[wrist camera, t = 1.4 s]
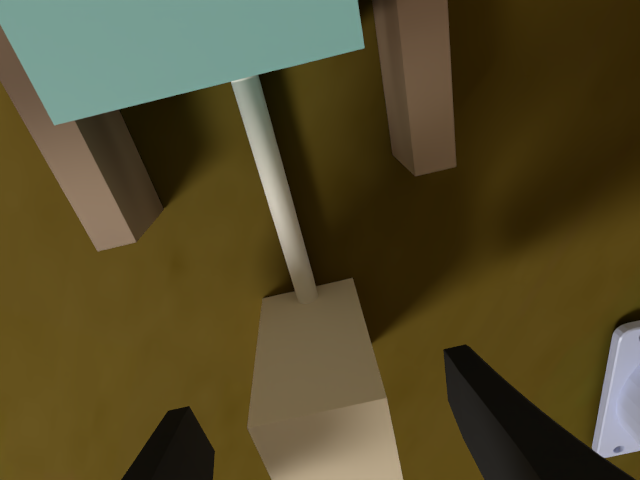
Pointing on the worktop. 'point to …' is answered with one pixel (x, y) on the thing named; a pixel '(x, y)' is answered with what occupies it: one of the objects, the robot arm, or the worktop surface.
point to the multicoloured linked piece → (242, 71)
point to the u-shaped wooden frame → (130, 173)
